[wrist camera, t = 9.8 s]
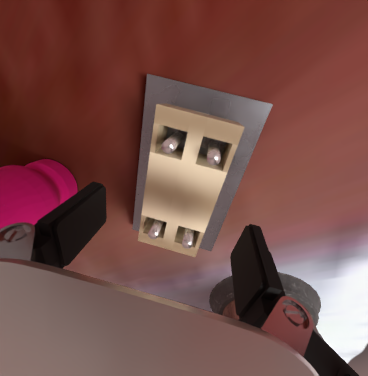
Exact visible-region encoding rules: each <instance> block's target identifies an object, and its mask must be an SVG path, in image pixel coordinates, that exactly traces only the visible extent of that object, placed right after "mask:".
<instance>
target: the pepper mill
mask: <svg viewBox="0 0 368 376" xmlns="http://www.w3.org/2000/svg"><path fill="white" fill-rule="evenodd" d="M76 193H77V183H76V180H75V178H74V177H73V175H72V174H71V172H70V171H69V170H68V169H67V168H66V167H65V166H63V165H62V164H60V163H59V162H57V161H54V160H50V159H41V160H38V161H35V162H32V163H29V164H27V165H25V166H20V165H8V166H3V167H0V229H2V228H3V227H5V226H8V225H10V224H14V223H21V222H26V223H30V224H33V225H35V224H36V223H37V221H38V220H39V219H41V218H42V217H44V216H45V215H46V214H48V213H49V212H51V211H52V210H53V209H55V208H56V207H58V206H59V205H61V204H62V203H63V202H65V201H66V200H68V199H69V198H70V197H72V196H73V195H75V194H76Z"/></svg>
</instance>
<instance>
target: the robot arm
mask: <svg viewBox="0 0 368 376" xmlns="http://www.w3.org/2000/svg"><path fill="white" fill-rule="evenodd" d="M105 222H106V188H105V187H104V186H103V184H101V183H97V182H92V183H90V184H89V185H87V186H86V187H85V188H83V189H82V190H80V191H79V192H78V193H76V194H75V195H73V196H72V197H70V198H69V199H68V200H66V201H65V202H63V203H62V204H61V205H59V206H58V207H56V208H55V209H53V210H52V211H51V212H49V213H48V214H46V215H45V216H44V217H42V218H41V219H39V220H38V221H37V223H36V224H35V225H33V224H30V223H26V222H21V223H14V224H10V225H8V226H5V227H3V228H2V229H0V376H359V375H358V374H357V373H356V372H355V371H354V370H353V369H352V368H351V367H350V366H349V365H348V364H347V363H346V362H345V361H344V360H343V359H342V358H341V357H340V356H339V355H338V354H337V353H336V352H335V351H334V350H333V349H332V348H331V347H330V346H329V345H328V344H327V343H326V342H325V341H324V340H323V339H322V338H321V337H320V336H319V335H318V334H317V333H316V332H315V331H314V330H313V321H312V318H311V316H310V314H309V313H308V311H307V310H306V308H305V307H304V306H303V305H302V304H301V303H299V302H298V301H297V300H295V299H293V298H291V297H288V296H286V295H285V292H284V289H283V286H282V283H281V280H280V278H279V275H278V272H277V269H276V266H275V264H274V261H273V258H272V255H271V253H270V252H269V251H268V248H267V245H266V242H265V239H264V236H263V233H262V230H261V228H260V227H259V226H256V225H252V224H250V225H249V226H246V227H245V229H244V230H243V232H242V234H241V236H240V238H239V240H238V242H237V244H236V246H235V247H234V249H233V251H232V253H231V268H232V278H233V289H234V299H235V309H236V315H237V316H239V321H238V320H235V319H232V318H229V317H225V316H222V315H219V314H216V313H213V312H209V311H206V310H203V309H199V308H196V307H193V306H189V305H186V304H183V303H179V302H176V301H172V300H169V299H166V298H162V297H159V296H155V295H152V294H149V293H145V292H142V291H138V290H135V289H131V288H128V287H125V286H121V285H118V284H114V283H111V282H107V281H104V280H100V279H97V278H93V277H90V276H86V275H83V274H79V273H76V272H72V271H69V270H65V269H62V268H63V267H64V266H67V265H69V264H70V263H71V261H72V260H73V259H74V258H75V257H76V256H77V255H78V253H79V252H80V251H81V250H82V249H83V248H84V246H85V245H86V244H87V243H88V242H89V241H90V240H91V238H92V237H93V236H94V235H95V234H96V233H97V231H98V230H99V229H100V228H101V227H102V226H103V224H104V223H105Z"/></svg>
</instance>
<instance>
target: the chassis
mask: <svg viewBox="0 0 368 376" xmlns="http://www.w3.org/2000/svg"><path fill="white" fill-rule="evenodd" d="M156 104H171V105H175V106H178V107H182V108H186V109H190V110H194V111H198V112H201V113H205V114H209V115H213V116H217V117H220V118H224V119H228V120H232V121H236V122H239V123H240V124H241V125H243V126H244V127H245V128H244V130H243V133H242V136H241V138H240V141H239V144H238V146H237V149H236V151H235V154H234V157H233V159H232V162H231V165H230V167H229V170H228V172H227V175H226V178H225V180H224V183H223V186H222V188H221V191H220V193H219V196H218V199H217V201H216V204H215V207H214V209H213V212H212V214H211V217H210V220H209V222H208V225H207V228H206V230H205V233H204V235H203V238H202V241H201V243H200V246H199V248H201V249H205V250H208V251H211V250H212V248H213V246H214V243H215V241H216V239H217V236H218V234H219V231H220V229H221V227H222V224H223V222H224V219H225V217H226V215H227V212H228V210H229V207H230V205H231V203H232V200H233V198H234V195H235V193H236V191H237V188H238V186H239V184H240V181H241V179H242V176H243V174H244V172H245V169H246V167H247V164H248V162H249V160H250V157H251V155H252V152H253V150H254V148H255V145H256V143H257V141H258V138H259V136H260V133H261V131H262V129H263V126H264V124H265V121H266V119H267V117H268V114H269V112H270V109H271V107H272V105H273V104H269V103H265V102H261V101H257V100H253V99H249V98H244V97H240V96H236V95H232V94H228V93H224V92H220V91H216V90H212V89H208V88H203V87H199V86H195V85H191V84H187V83H183V82H179V81H175V80H171V79H167V78H162V77H158V76H154V75H150V74H147V81H146V91H145V102H144V113H143V123H142V134H141V144H140V155H139V165H138V176H137V187H136V197H135V208H134V218H133V230H137V231H139V229H140V222H141V214H142V207H143V199H144V192H145V185H146V177H147V170H148V162H149V155H150V148H151V140H152V133H153V125H154V118H155V111H156ZM187 134H188V132H186V131H182V130H178V129H175V128H171V127H168V130H167V136H166V140H165V141H164V142H163V143H162V150H163V151H164V152H165V153H167V154H170V153H172V152H173V151H174V150H175V149H176V148H177V147H178V148H182V149H184V147H185V142H186V138H187ZM226 143H227V142H223V141H220V140H216V139H212V138H208V137H205V136H203V139H202V142H201V146H200V150H199V153H200V154H204V155H207V162H208V163H209V164H210V165H217V164H219V162H220V160H221V157H222V154H223V151H224V148H225V145H226ZM163 223H164V221H161V220H157V219H155V221H154V223H153V225H152V227H151V229H150V231H149V233H148V236H149V238H151V239H156V238H157V237H158V235H159V232H160V230H161V227H162V225H163ZM193 235H194V230H192V229H189V228H185V232H184V237H183V241H182V246H183V247H184V248H186V249H189V248H191V247H192V242H193Z"/></svg>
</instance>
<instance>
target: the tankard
mask: <svg viewBox="0 0 368 376" xmlns="http://www.w3.org/2000/svg"><path fill="white" fill-rule="evenodd" d="M278 275H279V278H280V280H281V283H282V286H283V289H284V292H285V295H286V296H288V297H291V298H293V299H295V300H297V301H298V302H299V303H301V304H302V305H303V306H304V307H305V308H306V310H307V311H308V313H309V314H310V316H311V318H312V321H313V330H314V331H315V332H316V333H317V334H318V335H319V336H320V337H321V338H322V336H321V335H320V334H319V333H318V331H317V328H316V325H317V323H318V319H319V316H318V313H319V312H320V308H321V302H320V298H319V296H318V294H317V292H316V291H315V290H314V289H313V288H312V287H311V286H310V285H309V284H307V283H306V282H304V281H302V280H301V279H298V278H296V277H294V276H291V275H287V274H283V273H280V272H278ZM209 302H210V306H211V309H212V311H213V312H214V313H216V314H219V315H222V316H225V317H229V318H232V319H235V320H238V321H239V316H237V315H236V309H235V299H234V289H233V278H232V276H231V277H228V278H226V279H224V280H223V281H221V282H220V283H219V284H217V285H216V286H215V288H214V289H213V290H212V292H211V294H210V300H209ZM322 339H323V338H322Z"/></svg>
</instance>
